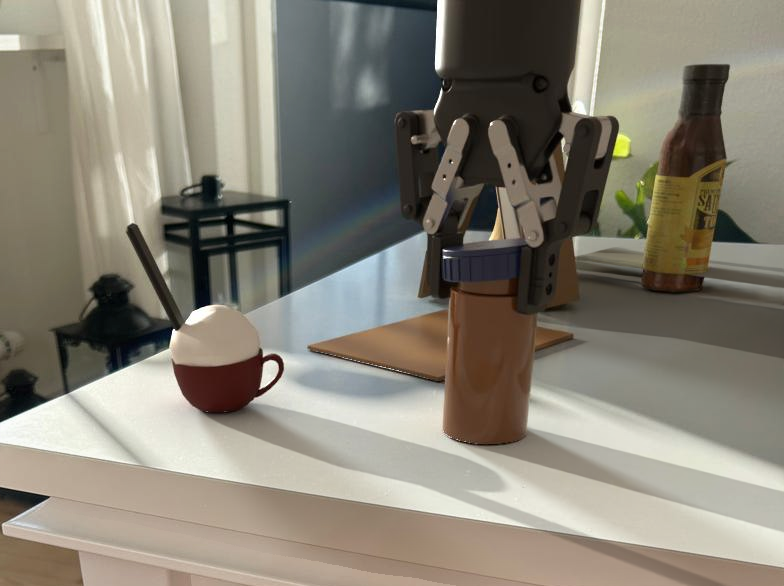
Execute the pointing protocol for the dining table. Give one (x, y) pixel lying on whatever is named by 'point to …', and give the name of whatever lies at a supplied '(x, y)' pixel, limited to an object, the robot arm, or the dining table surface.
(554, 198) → the robot arm
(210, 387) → the cocoa
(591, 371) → the dining table surface
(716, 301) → the dining table surface
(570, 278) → the photo frame
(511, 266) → the lid
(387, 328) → the mat
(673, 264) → the sauce bottle
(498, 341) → the jar
